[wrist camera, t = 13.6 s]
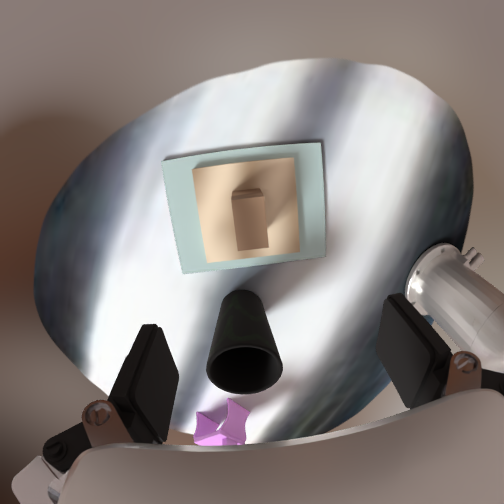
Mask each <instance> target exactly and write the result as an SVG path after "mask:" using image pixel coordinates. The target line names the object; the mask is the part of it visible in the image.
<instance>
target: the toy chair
mask: <svg viewBox="0 0 504 504" xmlns="http://www.w3.org/2000/svg"><path fill="white" fill-rule="evenodd" d="M227 404H228V415H227V418H226V420H225V422H224V423H223V425H222V426H221V428H220V429H219V430H217V428H218V427H219V424H217V423H216V422H214V421H212V420H211V419H209V418H207V417H206V416H204V415H202V414H201V413H199V412H196V416H197V427H196V431H195V433H194V436H193V438H194V443H196V444H198V445H200V446H220V445H243V444H245V441H246V432H245V422H246V419H247V417H248V415H249V414H250V412H249V411H248V410H246V409H245V408H243V407H241V406H240V405H238V404H237V403H235V402H234V401H232V400H231V399H229V398H228V399H227ZM216 430H217V431H216Z"/></svg>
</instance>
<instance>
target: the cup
mask: <svg viewBox="0 0 504 504" xmlns="http://www.w3.org/2000/svg"><path fill="white" fill-rule="evenodd" d="M282 371H283V364H282V361H281V358H280V355H279V352H278V349H277V346H276V343H275V340H274V337H273V334H272V332H271V329H270V326H269V323H268V320H267V317H266V314H265V311H264V308H263V305H262V302H261V300H260V298H259V297H258V296H257V295H256V294H255V293H253V292H250V291H247V290H237V291H234V292H231V293H230V294H228V295H227V296H226V297H225V298H224V299H223V302H222V304H221V308H220V312H219V316H218V320H217V324H216V328H215V333H214V337H213V341H212V345H211V349H210V353H209V357H208V361H207V367H206V372H207V375H208V378H209V379H210V381H211V382H212V383H213V384H214V385H215V386H217V387H218V388H220V389H222V390H224V391H227V392H230V393H234V394H253V393H258V392H261V391H264V390H266V389H268V388H269V387H271V386H272V385H274V384H275V383H276V382H277V381H278V379H279V378H280V377H281V374H282Z"/></svg>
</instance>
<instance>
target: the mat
mask: <svg viewBox="0 0 504 504" xmlns="http://www.w3.org/2000/svg"><path fill="white" fill-rule="evenodd" d="M290 157H293V158H294V166H295V178H296V192H297V206H298V223H299V243H300V252H297V253H288V254H280V255H272V256H263V257H255V258H246V259H238V260H229V261H221V262H212V263H207V260H206V254H205V249H204V243H203V237H202V232H201V226H200V220H199V214H198V207H197V201H196V195H195V188H194V181H193V174H192V169H194V168H201V167H207V166H214V165H222V164H229V163H238V162H246V161H256V160H266V159H277V158H290ZM161 164H162V170H163V177H164V183H165V189H166V194H167V200H168V206H169V211H170V216H171V221H172V226H173V231H174V236H175V241H176V246H177V250H178V255H179V259H180V264H181V268H182V273H183V274H189V273H198V272H207V271H215V270H224V269H232V268H241V267H249V266H257V265H265V264H273V263H281V262H289V261H297V260H305V259H313V258H320V257H326V239H325V204H324V183H323V167H322V153H321V143H303V144H287V145H274V146H263V147H253V148H244V149H235V150H228V151H220V152H213V153H206V154H200V155H194V156H188V157H182V158H177V159H171V160H166V161H161Z"/></svg>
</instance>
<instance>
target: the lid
mask: <svg viewBox="0 0 504 504" xmlns="http://www.w3.org/2000/svg"><path fill="white" fill-rule="evenodd" d="M192 174H193V181H194V188H195V195H196V201H197V207H198V214H199V220H200V226H201V232H202V237H203V243H204V249H205V254H206V260H207V263H212V262H221V261H229V260H238V259H246V258H255V257H263V256H272V255H280V254H288V253H297V252H300V243H299V223H298V206H297V192H296V178H295V166H294V158H293V157H290V158H277V159H266V160H256V161H246V162H238V163H229V164H222V165H214V166H207V167H201V168H194V169H192Z"/></svg>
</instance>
